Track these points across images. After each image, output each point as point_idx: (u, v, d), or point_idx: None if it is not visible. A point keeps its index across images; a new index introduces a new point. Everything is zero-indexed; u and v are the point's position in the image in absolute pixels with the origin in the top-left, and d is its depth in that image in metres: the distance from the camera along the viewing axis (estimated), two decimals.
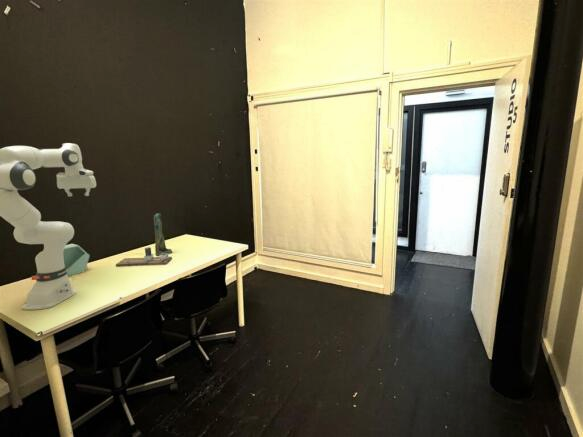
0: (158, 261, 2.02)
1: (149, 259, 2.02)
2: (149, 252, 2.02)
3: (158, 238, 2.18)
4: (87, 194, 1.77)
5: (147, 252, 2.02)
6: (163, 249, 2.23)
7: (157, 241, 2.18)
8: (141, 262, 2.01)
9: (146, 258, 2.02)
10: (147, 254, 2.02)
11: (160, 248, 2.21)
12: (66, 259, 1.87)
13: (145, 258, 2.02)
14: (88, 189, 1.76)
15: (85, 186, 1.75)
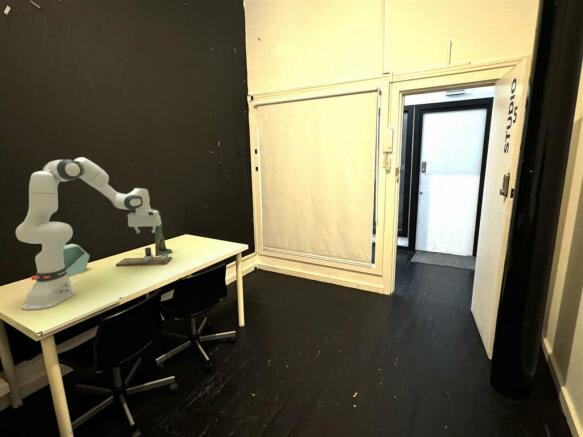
0: (158, 261, 2.02)
1: (149, 259, 2.02)
2: (149, 252, 2.02)
3: (158, 238, 2.18)
4: (153, 231, 2.00)
5: (147, 252, 2.02)
6: (163, 249, 2.23)
7: (157, 241, 2.18)
8: (141, 262, 2.01)
9: (146, 258, 2.02)
10: (147, 254, 2.02)
11: (160, 248, 2.21)
12: (66, 259, 1.87)
13: (145, 258, 2.02)
14: (155, 227, 2.00)
15: (152, 224, 1.98)
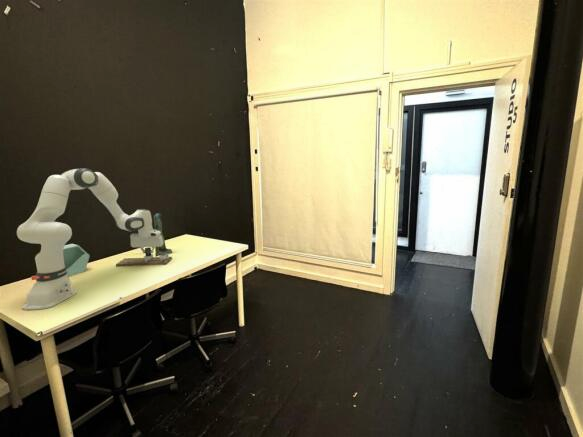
0: (158, 261, 2.02)
1: (149, 259, 2.02)
2: (149, 252, 2.02)
3: None
4: (152, 251, 2.03)
5: (147, 252, 2.02)
6: (163, 249, 2.23)
7: None
8: (141, 262, 2.01)
9: (146, 258, 2.02)
10: (147, 254, 2.02)
11: (160, 248, 2.21)
12: (66, 259, 1.87)
13: (145, 258, 2.02)
14: (153, 247, 2.02)
15: (155, 245, 2.01)
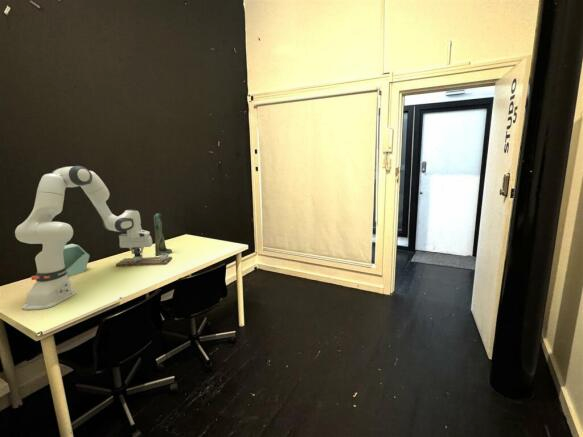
0: (158, 261, 2.02)
1: (138, 259, 2.01)
2: (138, 252, 2.02)
3: (158, 238, 2.18)
4: (141, 252, 2.02)
5: (136, 252, 2.01)
6: (163, 249, 2.23)
7: (157, 241, 2.18)
8: (141, 262, 2.01)
9: (135, 258, 2.01)
10: (136, 254, 2.01)
11: (160, 248, 2.21)
12: (66, 259, 1.87)
13: (134, 258, 2.01)
14: (142, 248, 2.02)
15: (143, 245, 2.00)
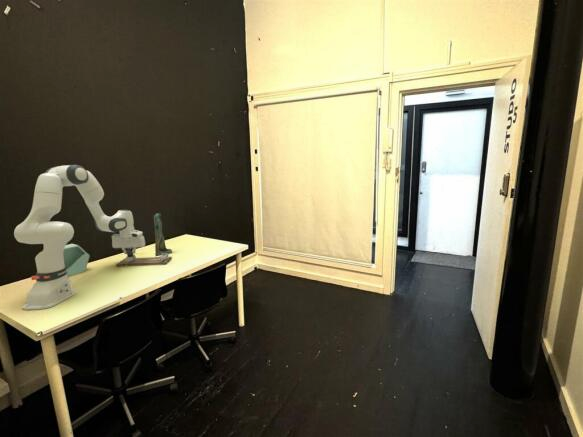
0: (158, 261, 2.02)
1: (131, 260, 2.01)
2: (131, 253, 2.02)
3: (158, 238, 2.18)
4: (134, 252, 2.02)
5: (129, 253, 2.01)
6: (163, 249, 2.23)
7: (157, 241, 2.18)
8: (141, 262, 2.01)
9: (128, 259, 2.01)
10: (129, 255, 2.01)
11: (160, 248, 2.21)
12: (66, 259, 1.87)
13: (127, 259, 2.01)
14: (135, 248, 2.01)
15: (136, 246, 2.00)
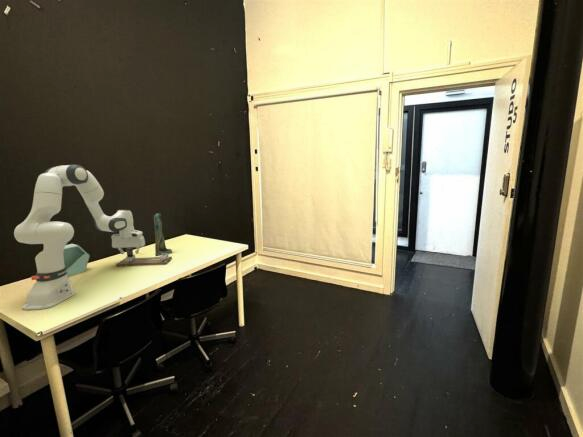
0: (158, 261, 2.02)
1: (131, 260, 2.01)
2: (131, 253, 2.02)
3: (158, 238, 2.18)
4: (137, 252, 2.02)
5: (128, 253, 2.01)
6: (163, 249, 2.23)
7: (157, 241, 2.18)
8: (141, 262, 2.01)
9: (127, 259, 2.01)
10: (128, 255, 2.01)
11: (160, 248, 2.21)
12: (66, 259, 1.87)
13: (126, 259, 2.01)
14: (138, 248, 2.01)
15: (136, 245, 2.00)
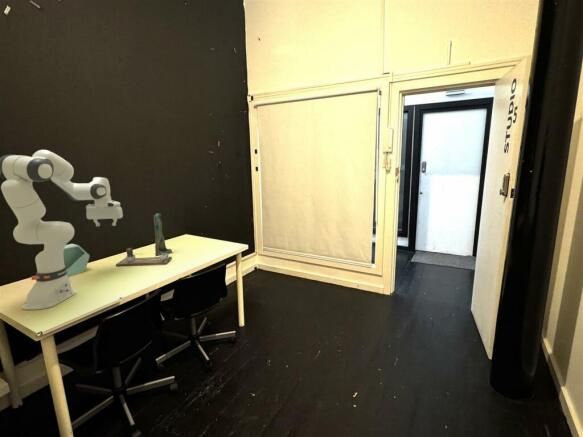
0: (158, 261, 2.02)
1: (131, 260, 2.01)
2: (131, 253, 2.02)
3: (158, 238, 2.18)
4: (114, 224, 1.87)
5: (128, 253, 2.01)
6: (163, 249, 2.23)
7: (157, 241, 2.18)
8: (141, 262, 2.01)
9: (127, 259, 2.01)
10: (128, 255, 2.01)
11: (160, 248, 2.21)
12: (66, 259, 1.87)
13: (126, 259, 2.01)
14: (115, 219, 1.87)
15: (113, 217, 1.85)
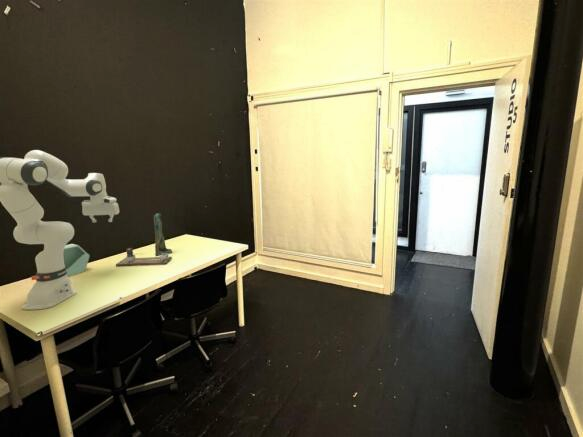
0: (158, 261, 2.02)
1: (131, 260, 2.01)
2: (131, 253, 2.02)
3: (158, 238, 2.18)
4: (111, 220, 1.85)
5: (128, 253, 2.01)
6: (163, 249, 2.23)
7: (157, 241, 2.18)
8: (141, 262, 2.01)
9: (127, 259, 2.01)
10: (128, 255, 2.01)
11: (160, 248, 2.21)
12: (66, 259, 1.87)
13: (126, 259, 2.01)
14: (112, 215, 1.84)
15: (109, 213, 1.83)
